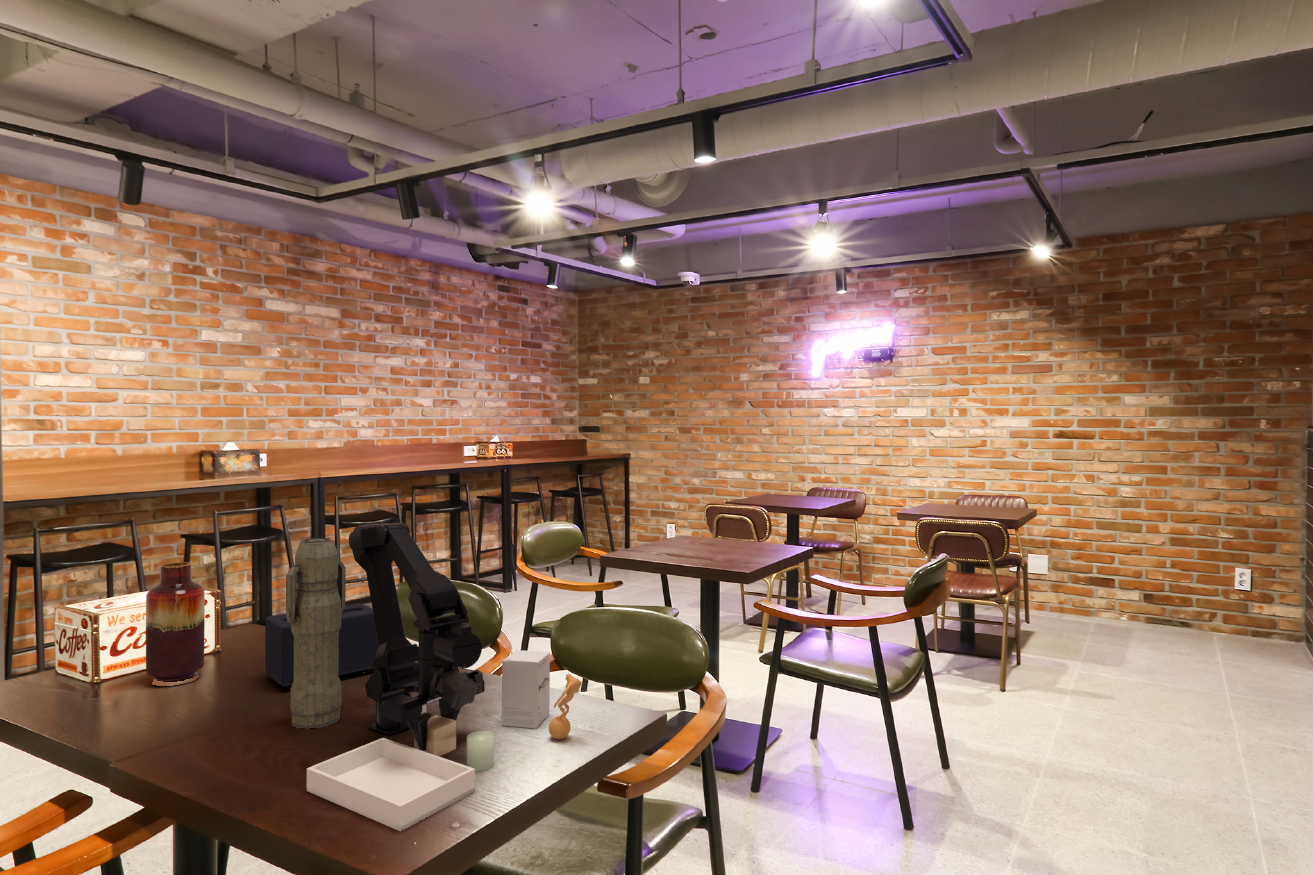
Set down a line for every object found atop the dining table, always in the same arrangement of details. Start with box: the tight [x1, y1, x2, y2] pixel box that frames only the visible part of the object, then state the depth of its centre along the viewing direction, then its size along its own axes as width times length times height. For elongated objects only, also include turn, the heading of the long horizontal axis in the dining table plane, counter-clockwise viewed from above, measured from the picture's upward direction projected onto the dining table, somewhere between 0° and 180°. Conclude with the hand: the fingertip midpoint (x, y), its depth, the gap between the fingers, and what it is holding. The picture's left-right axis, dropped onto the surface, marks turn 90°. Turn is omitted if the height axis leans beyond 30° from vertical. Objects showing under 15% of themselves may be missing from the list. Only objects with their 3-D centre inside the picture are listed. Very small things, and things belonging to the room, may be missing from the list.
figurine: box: [548, 673, 582, 740], centre depth 136 cm, size 8×6×12 cm
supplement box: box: [501, 650, 551, 729], centre depth 144 cm, size 7×7×13 cm
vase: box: [145, 561, 206, 682], centre depth 167 cm, size 11×11×26 cm
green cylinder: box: [466, 730, 495, 772], centre depth 125 cm, size 4×4×5 cm
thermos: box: [285, 537, 347, 730], centre depth 144 cm, size 9×12×35 cm
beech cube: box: [413, 714, 457, 757], centre depth 131 cm, size 5×5×5 cm
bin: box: [306, 737, 476, 833], centre depth 115 cm, size 22×14×4 cm, turn 58°
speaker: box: [264, 602, 379, 689], centre depth 171 cm, size 22×13×15 cm, turn 133°
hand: (435, 744), depth 131 cm, fingers closed on beech cube, 5 cm apart
